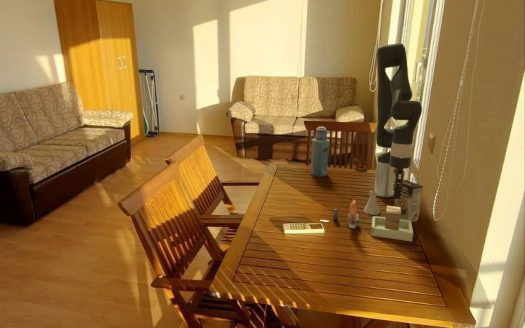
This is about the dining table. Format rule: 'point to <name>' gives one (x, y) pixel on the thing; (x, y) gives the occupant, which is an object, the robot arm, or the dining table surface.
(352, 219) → the crank
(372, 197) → the flask
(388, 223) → the block
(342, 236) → the dining table surface
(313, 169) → the bottle
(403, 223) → the tray
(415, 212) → the coffee box
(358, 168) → the place setting
